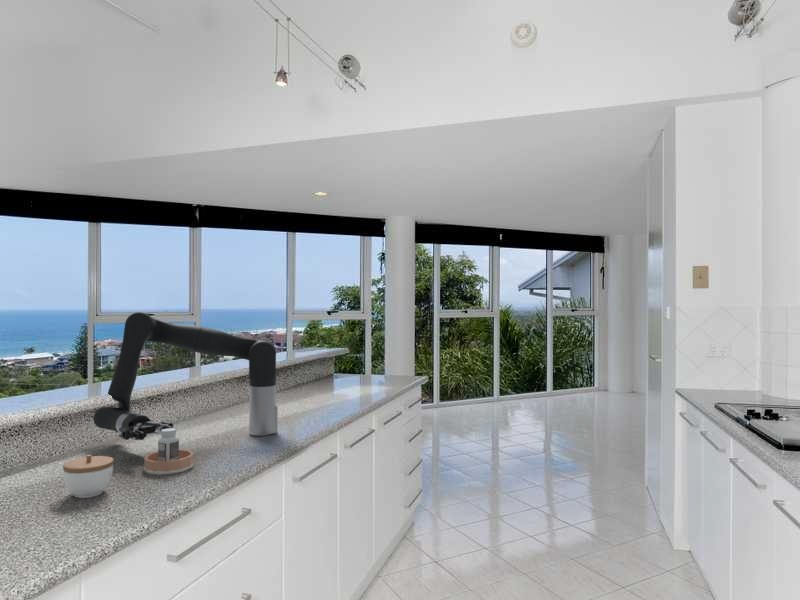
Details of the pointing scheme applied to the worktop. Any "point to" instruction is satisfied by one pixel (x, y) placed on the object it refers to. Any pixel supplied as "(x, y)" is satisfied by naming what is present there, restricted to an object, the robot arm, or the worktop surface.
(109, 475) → the lidded jar
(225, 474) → the worktop surface
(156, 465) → the bowl
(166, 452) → the pill bottle
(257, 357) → the robot arm
